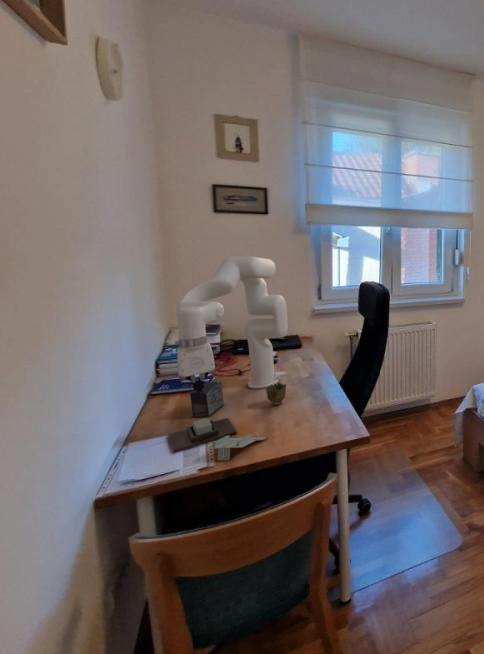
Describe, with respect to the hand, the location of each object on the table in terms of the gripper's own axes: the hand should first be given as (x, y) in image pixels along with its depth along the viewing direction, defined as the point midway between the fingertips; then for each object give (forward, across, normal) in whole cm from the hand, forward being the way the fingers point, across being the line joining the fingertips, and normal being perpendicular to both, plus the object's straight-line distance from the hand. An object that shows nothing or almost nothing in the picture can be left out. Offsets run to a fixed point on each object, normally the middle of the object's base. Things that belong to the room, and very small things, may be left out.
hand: (199, 391), depth 146 cm
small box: (+17, +5, +20) cm, 26 cm away
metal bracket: (+16, +6, -19) cm, 26 cm away
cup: (+17, +27, +8) cm, 32 cm away
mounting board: (+16, 0, -1) cm, 16 cm away
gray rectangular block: (+15, 0, -1) cm, 15 cm away
